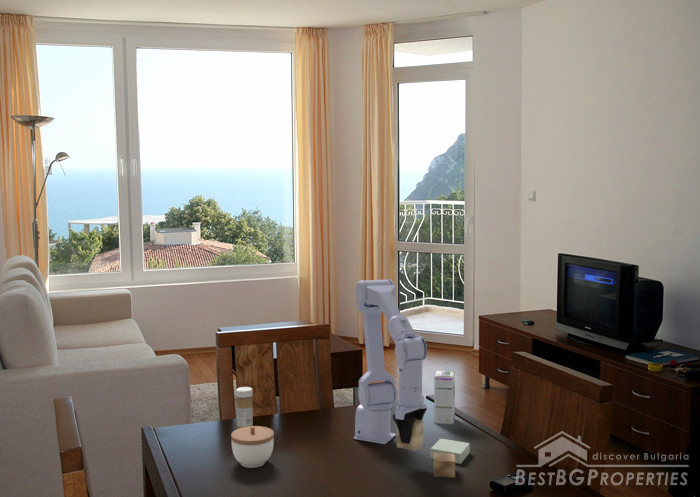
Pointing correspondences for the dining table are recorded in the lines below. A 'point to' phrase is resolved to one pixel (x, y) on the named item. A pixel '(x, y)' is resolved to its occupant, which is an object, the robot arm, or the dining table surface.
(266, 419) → the dining table surface
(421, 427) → the maple block
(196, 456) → the dining table surface
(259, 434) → the lidded jar
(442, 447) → the plinth block
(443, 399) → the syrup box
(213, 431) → the dining table surface
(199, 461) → the dining table surface
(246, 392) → the sprinkles bottle
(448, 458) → the oak block
